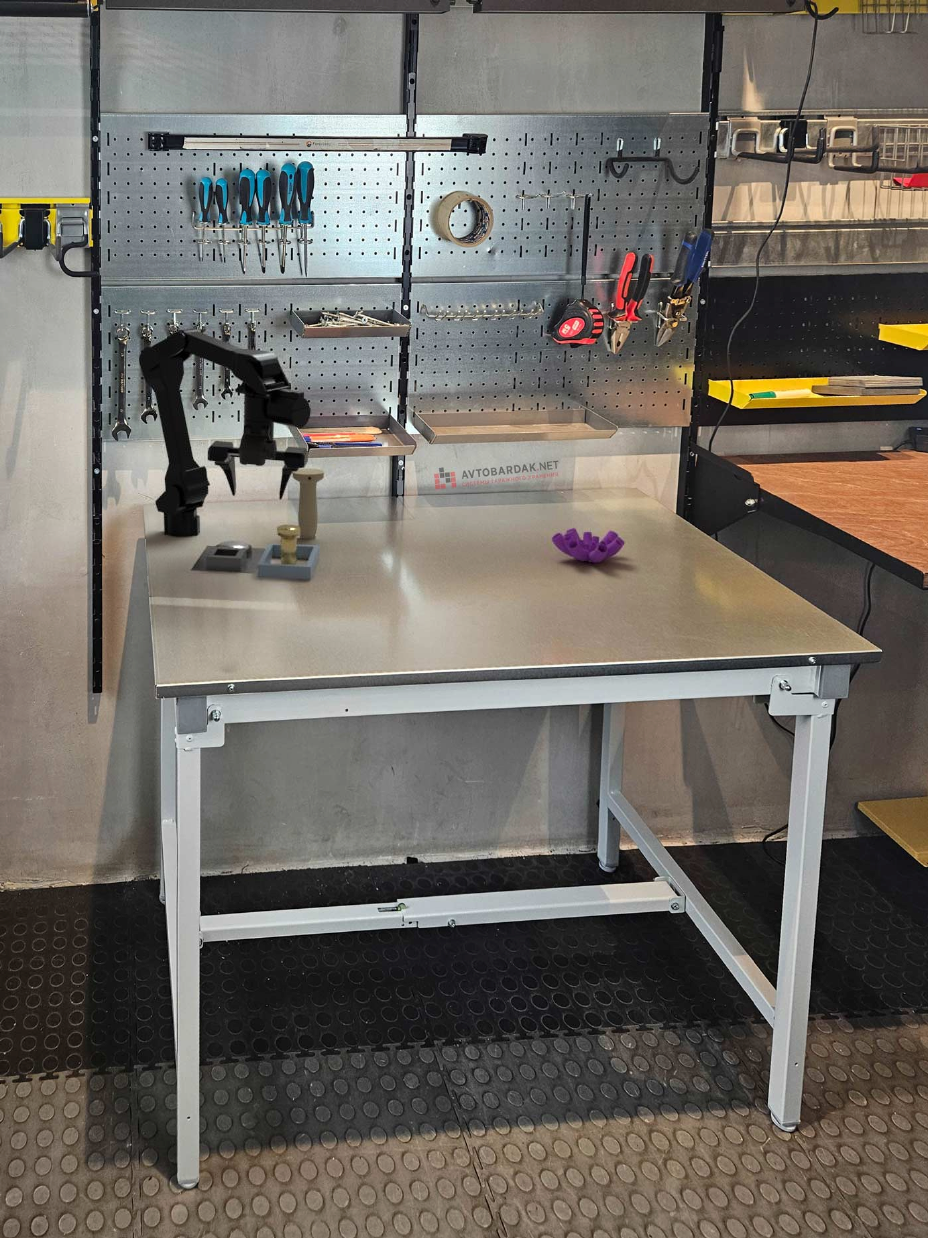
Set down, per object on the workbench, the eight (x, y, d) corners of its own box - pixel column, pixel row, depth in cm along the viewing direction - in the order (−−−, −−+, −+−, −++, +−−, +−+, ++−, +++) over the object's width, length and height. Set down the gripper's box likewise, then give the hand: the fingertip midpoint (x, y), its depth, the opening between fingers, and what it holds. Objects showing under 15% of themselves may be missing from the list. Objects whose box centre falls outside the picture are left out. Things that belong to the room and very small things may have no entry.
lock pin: (275, 571, 251) (275, 530, 248) (279, 564, 255) (278, 524, 252) (298, 572, 251) (298, 531, 248) (301, 565, 255) (301, 525, 252)
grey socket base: (190, 576, 248) (190, 557, 247) (207, 551, 263) (206, 534, 262) (253, 579, 248) (253, 561, 247) (266, 554, 263) (266, 537, 262)
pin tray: (257, 582, 247) (257, 564, 245) (268, 560, 260) (268, 543, 258) (310, 585, 247) (310, 567, 245) (319, 562, 260) (319, 545, 259)
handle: (324, 544, 272) (325, 474, 266) (293, 545, 270) (293, 474, 265) (321, 538, 276) (322, 468, 271) (290, 538, 274) (291, 468, 269)
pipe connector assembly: (621, 581, 269) (625, 554, 261) (548, 575, 270) (550, 548, 262) (623, 537, 275) (627, 509, 267) (552, 532, 276) (554, 504, 268)
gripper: (201, 423, 244) (201, 504, 249) (301, 431, 244) (298, 512, 250) (213, 411, 254) (213, 489, 260) (309, 419, 254) (306, 496, 260)
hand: (257, 497), depth 257 cm, fingers open, 9 cm apart
